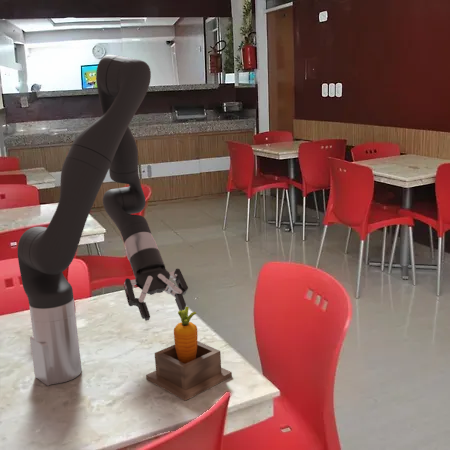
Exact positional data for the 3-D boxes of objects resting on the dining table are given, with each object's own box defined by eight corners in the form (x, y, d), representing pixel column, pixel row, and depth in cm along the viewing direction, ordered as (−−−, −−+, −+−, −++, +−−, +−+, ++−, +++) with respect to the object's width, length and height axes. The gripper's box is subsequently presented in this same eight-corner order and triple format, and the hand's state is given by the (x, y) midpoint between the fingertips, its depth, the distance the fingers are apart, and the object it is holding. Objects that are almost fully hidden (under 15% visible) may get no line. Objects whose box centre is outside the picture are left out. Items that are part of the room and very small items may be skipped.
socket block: (185, 400, 108) (183, 373, 107) (146, 379, 118) (144, 353, 116) (231, 376, 117) (230, 350, 116) (192, 358, 126) (190, 333, 125)
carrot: (186, 365, 121) (183, 301, 117) (204, 371, 118) (201, 306, 114) (171, 375, 117) (167, 309, 113) (189, 381, 114) (185, 314, 110)
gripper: (117, 252, 126) (139, 314, 118) (174, 242, 132) (198, 300, 125) (113, 268, 131) (133, 329, 124) (167, 258, 138) (189, 315, 131)
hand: (165, 314), depth 124 cm, fingers open, 8 cm apart
